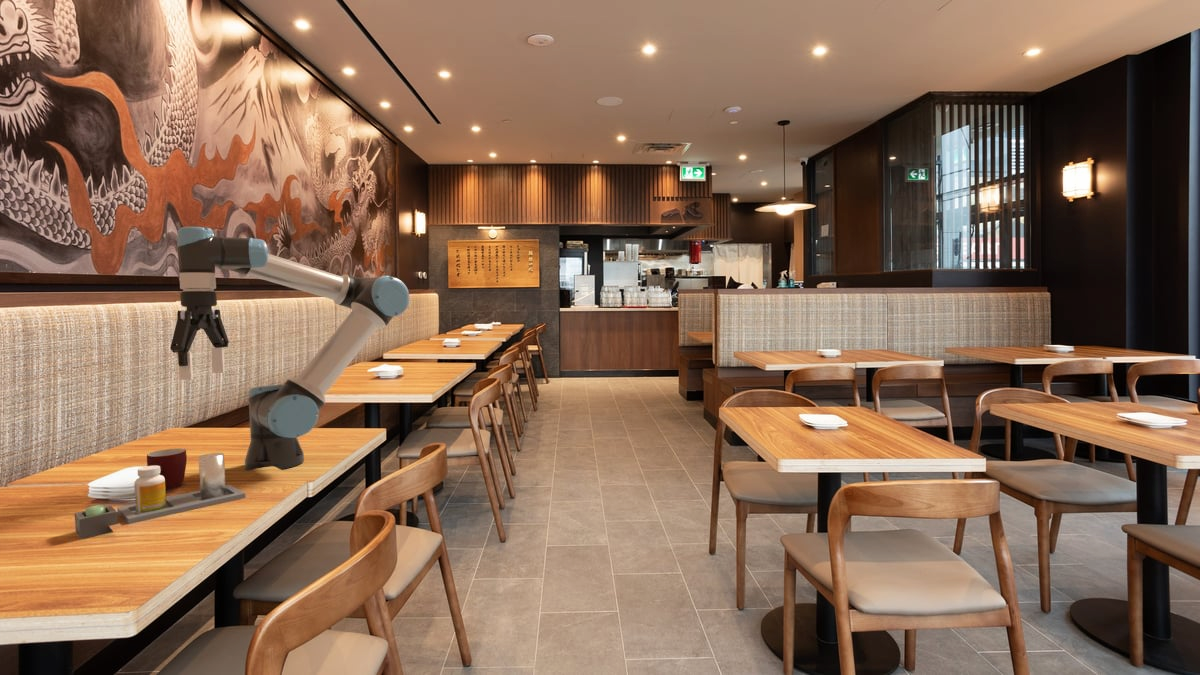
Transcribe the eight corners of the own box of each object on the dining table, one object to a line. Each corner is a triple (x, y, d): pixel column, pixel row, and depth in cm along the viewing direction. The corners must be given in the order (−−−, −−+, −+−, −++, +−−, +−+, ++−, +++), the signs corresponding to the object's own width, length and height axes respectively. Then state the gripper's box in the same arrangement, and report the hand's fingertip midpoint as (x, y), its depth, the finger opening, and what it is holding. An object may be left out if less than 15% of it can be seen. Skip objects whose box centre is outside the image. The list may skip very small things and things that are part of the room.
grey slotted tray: (229, 494, 152) (229, 484, 152) (245, 503, 144) (245, 493, 144) (117, 518, 136) (117, 507, 136) (129, 530, 128) (128, 519, 128)
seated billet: (222, 493, 148) (219, 451, 147) (229, 497, 145) (226, 455, 144) (197, 498, 144) (195, 456, 144) (204, 503, 141) (202, 459, 140)
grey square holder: (112, 523, 133) (110, 505, 132) (118, 530, 129) (116, 511, 128) (75, 531, 128) (74, 512, 128) (80, 539, 124) (79, 519, 124)
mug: (179, 498, 150) (177, 457, 149) (139, 501, 147) (137, 460, 146) (192, 485, 160) (190, 447, 159) (155, 489, 157) (153, 450, 156)
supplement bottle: (172, 508, 137) (170, 465, 137) (148, 516, 132) (145, 472, 132) (155, 506, 139) (152, 463, 138) (130, 514, 134) (127, 470, 133)
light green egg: (104, 522, 131) (103, 503, 130) (107, 526, 128) (106, 507, 128) (85, 526, 128) (84, 507, 128) (88, 530, 126) (86, 511, 126)
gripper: (211, 291, 166) (216, 370, 167) (148, 290, 141) (154, 383, 142) (240, 290, 166) (244, 369, 167) (182, 289, 141) (188, 382, 142)
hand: (203, 376), depth 155 cm, fingers open, 13 cm apart
